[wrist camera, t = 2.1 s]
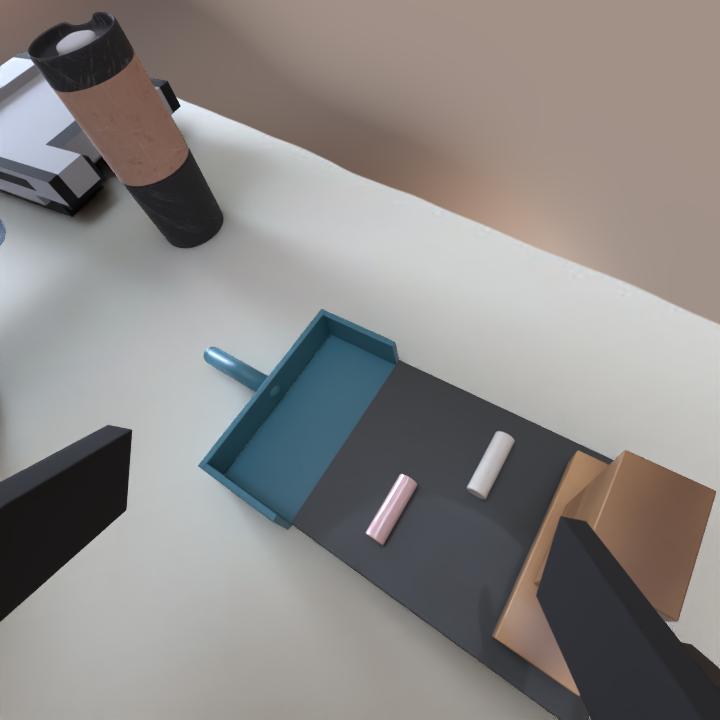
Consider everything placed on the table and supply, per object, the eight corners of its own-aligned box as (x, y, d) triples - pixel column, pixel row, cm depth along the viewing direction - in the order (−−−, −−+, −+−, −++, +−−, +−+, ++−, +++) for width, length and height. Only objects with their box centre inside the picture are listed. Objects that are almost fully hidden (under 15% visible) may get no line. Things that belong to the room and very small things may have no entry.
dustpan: (399, 362, 37) (395, 341, 34) (288, 529, 32) (272, 521, 29) (268, 300, 43) (256, 279, 41) (156, 432, 38) (133, 417, 35)
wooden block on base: (491, 636, 25) (522, 651, 15) (568, 461, 29) (636, 374, 19) (567, 689, 23) (667, 751, 13) (638, 496, 28) (758, 421, 17)
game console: (91, 229, 55) (39, 173, 48) (-39, 181, 67) (-95, 131, 60) (193, 131, 62) (162, 70, 55) (61, 104, 74) (21, 51, 67)
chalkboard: (296, 526, 32) (290, 523, 30) (400, 368, 37) (399, 359, 36) (575, 729, 24) (582, 736, 22) (658, 491, 29) (668, 485, 28)
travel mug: (194, 258, 48) (58, 66, 32) (152, 238, 52) (8, 53, 35) (238, 214, 51) (135, 14, 34) (195, 197, 54) (81, 7, 37)
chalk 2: (464, 490, 29) (467, 486, 28) (494, 434, 31) (498, 428, 30) (483, 501, 29) (487, 498, 28) (512, 444, 31) (517, 438, 29)
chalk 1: (370, 538, 29) (361, 530, 28) (405, 479, 31) (397, 470, 30) (386, 548, 28) (377, 541, 27) (421, 487, 30) (413, 478, 29)
